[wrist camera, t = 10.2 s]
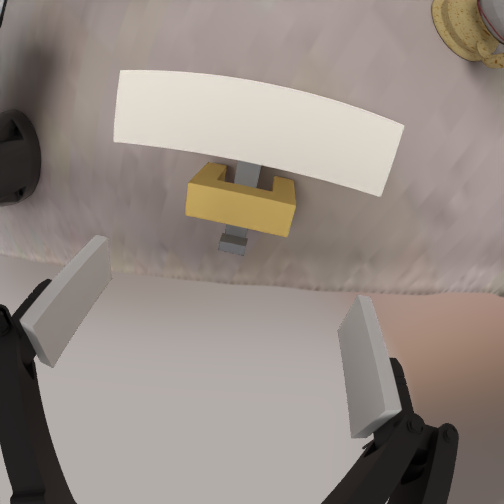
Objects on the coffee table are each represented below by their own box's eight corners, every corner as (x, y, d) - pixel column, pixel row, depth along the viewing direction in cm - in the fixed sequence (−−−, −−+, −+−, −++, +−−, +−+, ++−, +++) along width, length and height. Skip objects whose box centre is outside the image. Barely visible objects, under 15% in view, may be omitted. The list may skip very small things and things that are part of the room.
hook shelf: (168, 201, 33) (116, 262, 22) (184, 75, 25) (120, 70, 14) (316, 233, 33) (330, 311, 22) (354, 110, 25) (404, 125, 14)
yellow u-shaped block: (204, 188, 30) (184, 215, 24) (208, 162, 29) (188, 182, 23) (286, 206, 30) (287, 237, 25) (293, 180, 29) (296, 205, 23)
